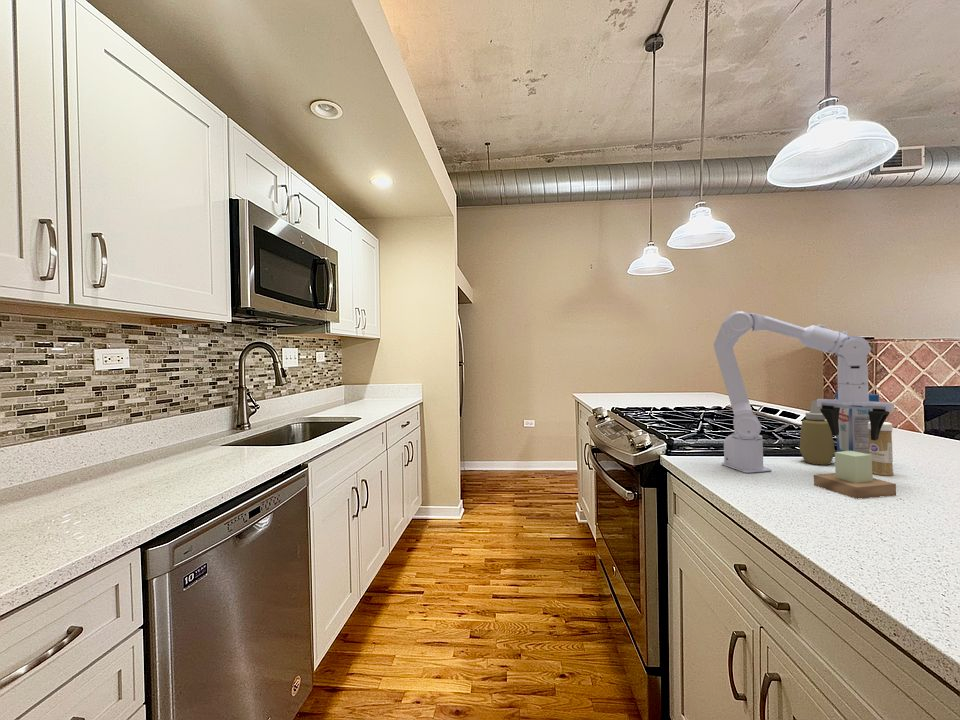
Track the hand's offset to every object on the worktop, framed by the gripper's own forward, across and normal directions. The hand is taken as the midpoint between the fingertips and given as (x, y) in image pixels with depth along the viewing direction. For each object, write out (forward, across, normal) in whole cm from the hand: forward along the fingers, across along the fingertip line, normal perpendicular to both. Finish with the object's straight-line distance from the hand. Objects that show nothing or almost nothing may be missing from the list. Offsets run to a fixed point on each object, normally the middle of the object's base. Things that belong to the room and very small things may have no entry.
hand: (854, 437), depth 103 cm
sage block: (+8, +3, -11) cm, 14 cm away
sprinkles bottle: (+11, +2, +10) cm, 15 cm away
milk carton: (+11, -6, +18) cm, 22 cm away
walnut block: (+11, +3, -11) cm, 16 cm away
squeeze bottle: (+11, -12, +10) cm, 19 cm away
